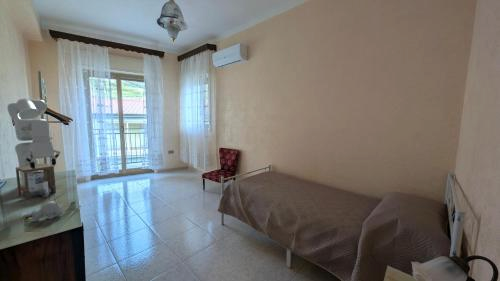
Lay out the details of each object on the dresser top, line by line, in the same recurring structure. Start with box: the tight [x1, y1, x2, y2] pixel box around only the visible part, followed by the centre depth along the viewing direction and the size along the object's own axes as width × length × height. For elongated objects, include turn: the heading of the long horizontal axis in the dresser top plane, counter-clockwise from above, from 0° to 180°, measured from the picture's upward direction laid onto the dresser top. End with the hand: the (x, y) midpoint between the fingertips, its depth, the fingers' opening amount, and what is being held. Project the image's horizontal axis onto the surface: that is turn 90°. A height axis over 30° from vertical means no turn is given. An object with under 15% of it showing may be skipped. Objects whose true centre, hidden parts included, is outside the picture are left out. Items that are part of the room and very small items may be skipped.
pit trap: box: [16, 187, 26, 195], centre depth 147 cm, size 10×10×2 cm
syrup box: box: [27, 171, 45, 192], centre depth 141 cm, size 6×6×14 cm
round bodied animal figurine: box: [28, 200, 63, 223], centre depth 108 cm, size 7×12×8 cm, turn 127°
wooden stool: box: [15, 162, 57, 200], centre depth 140 cm, size 14×14×18 cm
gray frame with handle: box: [23, 181, 52, 199], centre depth 139 cm, size 19×10×10 cm, turn 62°
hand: (43, 166), depth 133 cm, fingers open, 9 cm apart
